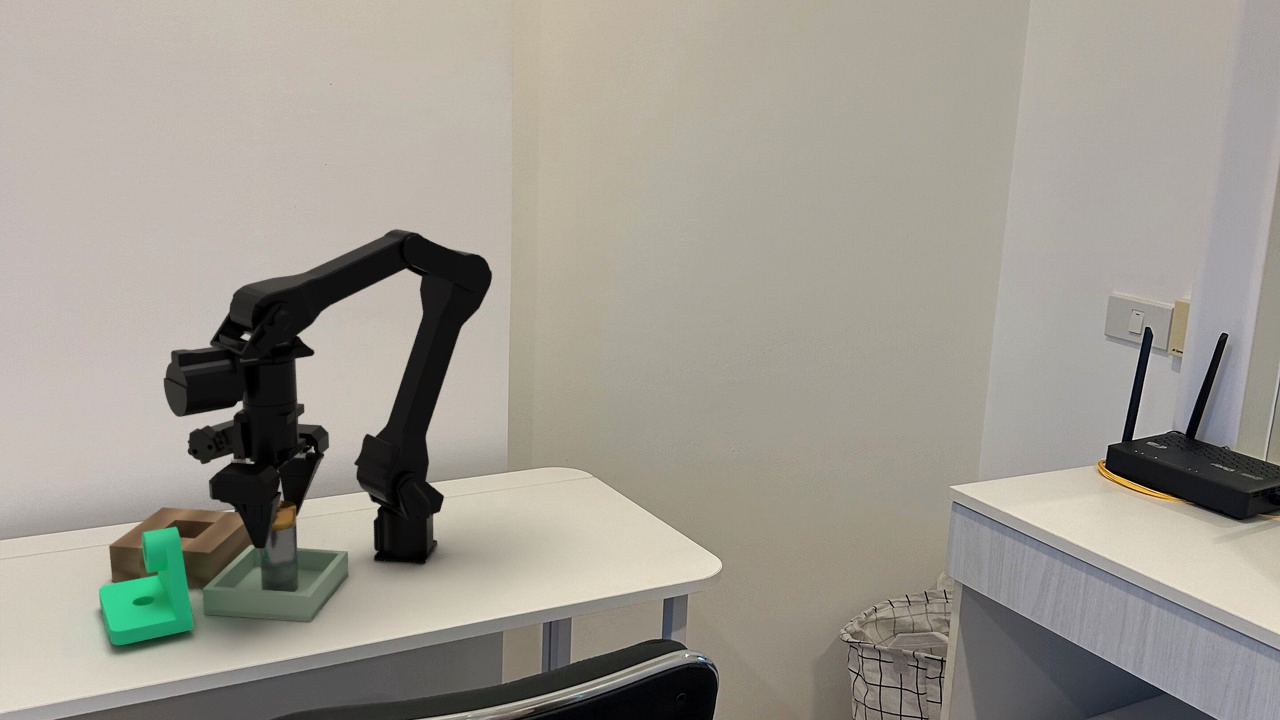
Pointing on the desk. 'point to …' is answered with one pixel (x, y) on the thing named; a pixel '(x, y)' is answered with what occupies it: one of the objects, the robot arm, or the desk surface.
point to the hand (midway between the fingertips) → (276, 531)
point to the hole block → (184, 544)
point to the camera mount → (150, 594)
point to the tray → (245, 597)
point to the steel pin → (281, 551)
